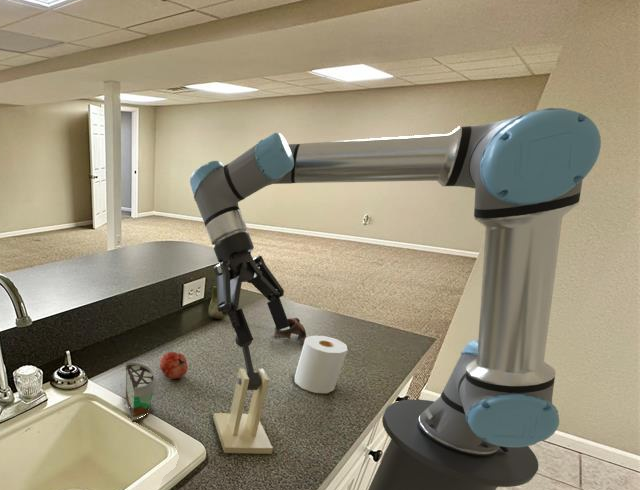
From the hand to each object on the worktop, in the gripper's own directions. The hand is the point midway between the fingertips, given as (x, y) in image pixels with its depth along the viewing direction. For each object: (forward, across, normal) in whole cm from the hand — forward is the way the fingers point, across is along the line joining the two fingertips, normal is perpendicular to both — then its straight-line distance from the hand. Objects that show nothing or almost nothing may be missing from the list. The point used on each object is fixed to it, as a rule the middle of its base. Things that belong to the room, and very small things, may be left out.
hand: (266, 335), depth 83 cm
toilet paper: (+17, -30, -12) cm, 36 cm away
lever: (+4, +1, -6) cm, 8 cm away
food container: (+7, +15, -29) cm, 33 cm away
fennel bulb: (-11, -44, -47) cm, 66 cm away
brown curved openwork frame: (+5, -50, -26) cm, 57 cm away
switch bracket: (+19, +4, -12) cm, 23 cm away
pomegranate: (+2, -2, -33) cm, 33 cm away
